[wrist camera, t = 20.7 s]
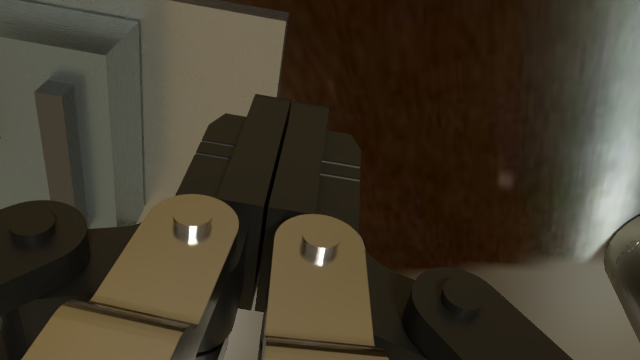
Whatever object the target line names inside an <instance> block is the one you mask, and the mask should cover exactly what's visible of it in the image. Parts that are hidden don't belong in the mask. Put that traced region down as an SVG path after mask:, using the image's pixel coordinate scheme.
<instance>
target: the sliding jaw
mask: <svg viewBox="0 0 640 360" xmlns="http://www.w3.org/2000/svg"><path fill="white" fill-rule="evenodd" d="M34 200H51V201H58V202H63V203H66V204H68V205H71V206H73V207H75V208H76V209H77V210H79V211H80V212H81V213H82V214H83V216H84V217H85V219H86V222H87V229H93V228H110V227H123V226H131V225H135V224H136V223H137V221H138V219H139V218H140V216H141V214H142V212H143V210H144V192H143V157H142V123H141V89H140V55H139V22H137V21H132V20H126V19H120V18H115V17H109V16H104V15H98V14H92V13H87V12H81V11H76V10H70V9H64V8H59V7H53V6H48V5H42V4H36V3H31V2H25V1H20V0H0V209H3V208H6V207H8V206H11V205H14V204H18V203H22V202H27V201H34Z"/></svg>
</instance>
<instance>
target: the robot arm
mask: <svg viewBox="0 0 640 360" xmlns="http://www.w3.org/2000/svg"><path fill="white" fill-rule="evenodd" d="M290 107H291V100H289V99H283V98H277V97H271V96H266V95H260V94H255V96H254V98H253V101H252V104H251V106H250V109H249V112H248V115H247V117H245V116H239V115H233V114H227V113H225V114H224V115H222V116H221V117H219V118H218V119H216V120H215V121H213V122H212V123H210V124H209V125H208V127H207V129H206V132H205V134H204V136H203V138H202V142H200V144H199V146H198V148H197V151H196V155H194V157H193V159H192V161H191V163H190V165H189V167H188V169H187V172H186V174H185V176H184V178H183V180H182V182H181V184H180V186H179V188H178V190H177V193H176V195H175V196H173V197H170V198H167V199H165V200H162V201H161V202H159V203H157V204H156V205H155V206H154V207H152V208H151V210H150V211H149V212H148V213H147V215H146V216H145V218H144V220H143V221H142V223H139V224H135V225H131V226H123V227H110V228H93V229H87V222H86V219H85V217H84V216H83V214H82V213H81V212H80V211H79V210H77V209H76V208H75V207H73V206H71V205H68V204H66V203H63V202H58V201H51V200H34V201H27V202H22V203H18V204H14V205H11V206H8V207H6V208H3V209H0V360H223V358H224V355H225V352H226V349H227V346H228V338H229V334H230V332H231V331H232V328H233V325H234V321H235V317H236V313H237V309H238V308H240V309H246V310H251V308H252V304H253V299H254V295H255V291H256V286H257V282H258V277H259V283H258V290H257V298H256V306H255V311H260V312H264V315H263V322H262V329H261V335H260V343H259V350H258V358H257V360H573V359H572V358H570V357H569V356H568V355H567V354H566V353H565V352H564V351H563V350H562V349H561V348H559V347H558V346H557V345H556V344H555V343H554V342H553V341H552V340H551V339H550V338H548V337H547V336H546V335H545V334H544V333H543V332H542V331H541V330H539V329H538V328H537V327H536V326H535V325H534V324H533V323H532V322H531V321H530V320H528V319H527V318H526V317H525V316H524V315H523V314H522V313H521V312H520V311H518V310H517V309H516V308H515V307H514V306H513V305H512V304H511V303H509V301H507V300H506V299H505V298H504V297H503V296H502V295H501V294H500V293H499V292H498V291H496V290H495V289H494V288H493V287H492V286H491V285H489V284H488V283H487V282H485V281H484V280H483V279H481V278H480V277H478V276H476V275H474V274H472V273H469V272H466V271H464V270H460V269H456V268H449V267H439V268H433V269H430V270H427V271H425V272H423V273H422V274H420V275H419V276H418V277H417V278H416V280H413V279H410V278H408V277H406V276H403V275H401V274H399V273H396V272H394V271H392V270H390V269H388V268H386V267H384V266H383V265H381V264H379V263H378V262H377V261H376V260H374V259H373V258H372V257H371V256H370V255H369V254H368V253H367V251H366V250H365V247H364V243H363V241H362V239H361V237H360V236H359V199H360V159H361V150H360V148H359V147H358V145H357V143H356V142H355V140H354V139H353V137H352V136H351V134H345V133H339V132H333V131H327V130H326V127H327V119H328V111H329V106H324V105H318V104H313V103H307V102H301V101H295V100H294V102H293V106H292V110H291V114H290ZM289 115H290V119H289ZM288 122H289V123H288ZM604 265H605V271H606V273H607V275H608V277H609V279H610V281H611V283H612V285H613V287H614V290H615V292H616V294H617V296H618V298H619V300H620V302H621V304H622V306H623V308H624V310H625V313H626V315H627V317H628V319H629V321H630V323H631V325H632V327H633V329H634V332H635V334H636V336H637V338H638V340H639V342H640V216H638V217H637V218H635V219H633V220H632V221H630V222H629V223H627V224H626V225H625V226H624V227H623V228H622V229H621V230H619V231H618V232H617V234H616V235H615V236H614V237H613V239H612V240H611V241H610V243H609V245H608V248H607V250H606V252H605V258H604ZM259 273H260V275H259Z"/></svg>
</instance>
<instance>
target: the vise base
mask: <svg viewBox="0 0 640 360" xmlns="http://www.w3.org/2000/svg"><path fill="white" fill-rule="evenodd" d="M20 1H25V2H31V3H36V4H42V5H48V6H53V7H59V8H64V9H70V10H76V11H81V12H87V13H92V14H98V15H104V16H109V17H115V18H120V19H126V20H132V21H137V22H139V55H140V89H141V123H142V157H143V192H144V210H143V212H142V214H141V216H140V218H139V219H138V221H137V222H142V221H143V220H144V218H145V216H146V215H147V213H148V212H149V211H150V210H151V208H152V207H154V206H155V205H156V204H157V203H159V202H161V201H162V200H165V199H167V198H170V197H173V196H175V195H176V193H177V190H178V188H179V186H180V184H181V182H182V180H183V178H184V176H185V174H186V172H187V169H188V167H189V165H190V163H191V161H192V159H193V157H194V155H196V151H197V148H198V146H199V144H200V142H202V138H203V136H204V134H205V132H206V129H207V127H208V125H209V124H210V123H212V122H213V121H215V120H216V119H218V118H219V117H221V116H222V115H224V114H225V113H227V114H233V115H239V116H245V117H247V115H248V112H249V109H250V106H251V104H252V101H253V98H254V96H255V94H260V95H266V96H271V97H277V98H278V97H279V89H280V81H281V73H282V66H283V58H284V50H285V42H286V34H287V27H288V19H289V13H287V12H282V11H276V10H271V9H265V8H260V7H254V6H249V5H243V4H238V3H232V2H226V1H221V0H20Z"/></svg>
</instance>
